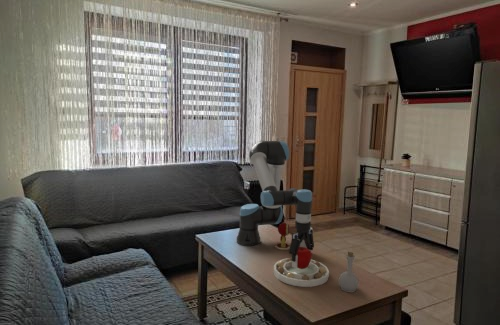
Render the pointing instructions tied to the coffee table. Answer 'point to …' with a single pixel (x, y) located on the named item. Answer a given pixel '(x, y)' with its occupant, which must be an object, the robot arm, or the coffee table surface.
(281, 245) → the figurine
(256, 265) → the coffee table surface
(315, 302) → the coffee table surface
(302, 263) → the apple
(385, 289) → the coffee table surface
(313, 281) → the bead tray
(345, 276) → the potion bottle
